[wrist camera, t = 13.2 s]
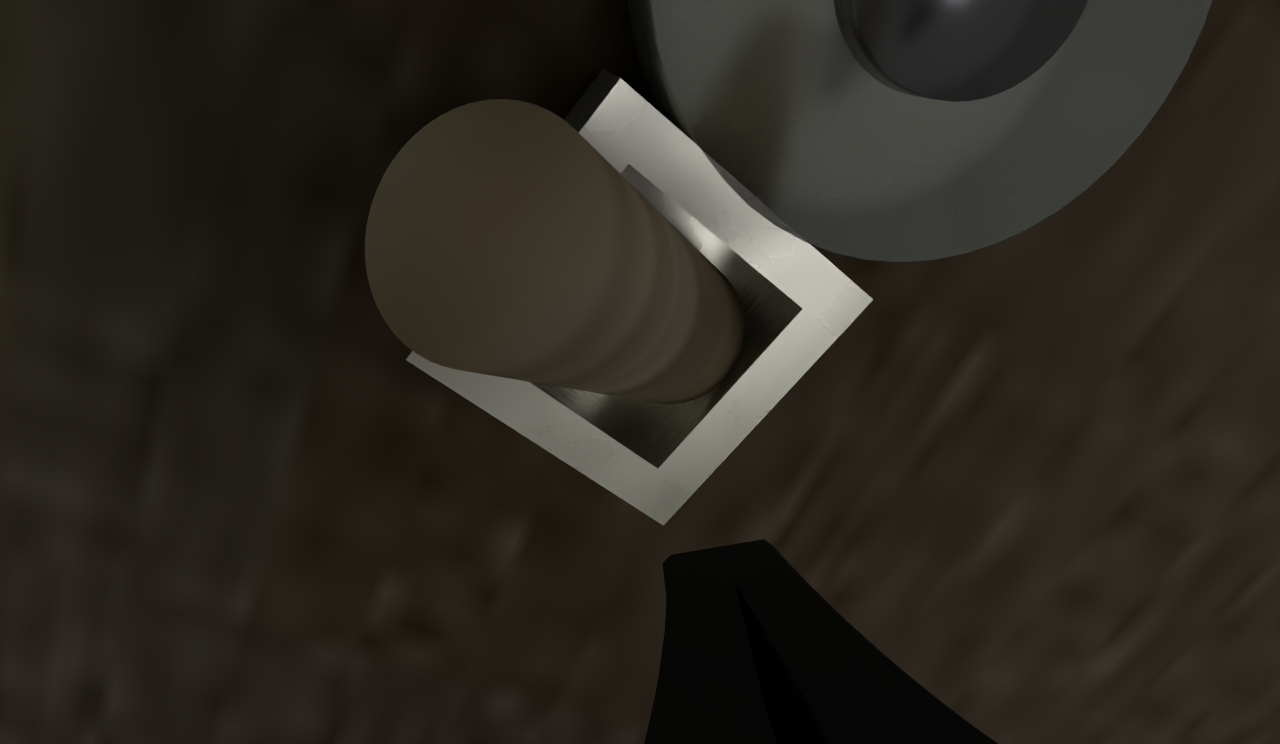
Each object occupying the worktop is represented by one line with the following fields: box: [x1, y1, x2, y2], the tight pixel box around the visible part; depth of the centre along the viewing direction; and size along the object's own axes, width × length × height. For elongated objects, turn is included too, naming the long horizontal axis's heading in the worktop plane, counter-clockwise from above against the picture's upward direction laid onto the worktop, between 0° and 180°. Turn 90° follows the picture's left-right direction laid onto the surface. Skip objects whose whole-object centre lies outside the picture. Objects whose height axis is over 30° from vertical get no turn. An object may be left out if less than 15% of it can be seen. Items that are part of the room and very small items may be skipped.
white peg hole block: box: [406, 0, 1212, 525], centre depth 15 cm, size 16×10×5 cm, turn 140°
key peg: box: [365, 99, 745, 404], centre depth 13 cm, size 3×3×8 cm
